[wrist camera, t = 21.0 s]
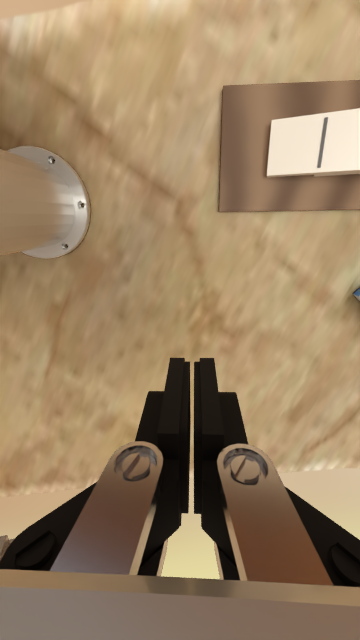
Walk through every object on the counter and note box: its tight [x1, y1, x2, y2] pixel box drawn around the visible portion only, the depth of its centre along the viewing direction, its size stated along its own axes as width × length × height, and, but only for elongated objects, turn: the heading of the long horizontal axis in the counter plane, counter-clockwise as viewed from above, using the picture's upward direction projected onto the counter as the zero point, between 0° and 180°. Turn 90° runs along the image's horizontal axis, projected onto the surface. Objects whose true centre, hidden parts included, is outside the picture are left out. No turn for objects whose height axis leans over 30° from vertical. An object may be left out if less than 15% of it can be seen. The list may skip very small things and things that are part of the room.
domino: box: [267, 108, 360, 177], centre depth 27 cm, size 2×5×10 cm
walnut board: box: [219, 80, 360, 212], centre depth 30 cm, size 28×12×1 cm, turn 91°
